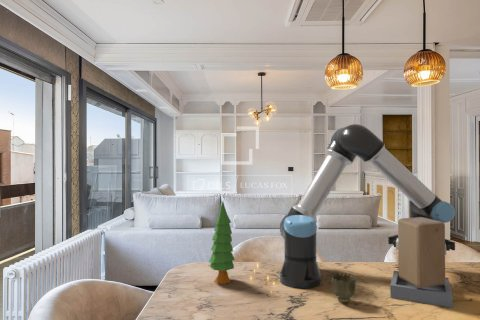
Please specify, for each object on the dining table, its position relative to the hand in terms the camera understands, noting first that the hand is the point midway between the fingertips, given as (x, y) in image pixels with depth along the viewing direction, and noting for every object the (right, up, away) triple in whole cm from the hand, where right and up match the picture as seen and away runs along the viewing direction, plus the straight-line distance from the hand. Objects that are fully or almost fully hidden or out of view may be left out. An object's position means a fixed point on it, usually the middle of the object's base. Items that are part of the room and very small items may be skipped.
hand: (420, 248), depth 109 cm
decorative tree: (-65, -16, +16) cm, 69 cm away
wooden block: (0, -11, 0) cm, 11 cm away
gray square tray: (+1, -16, +3) cm, 16 cm away
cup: (-26, -16, -4) cm, 31 cm away
